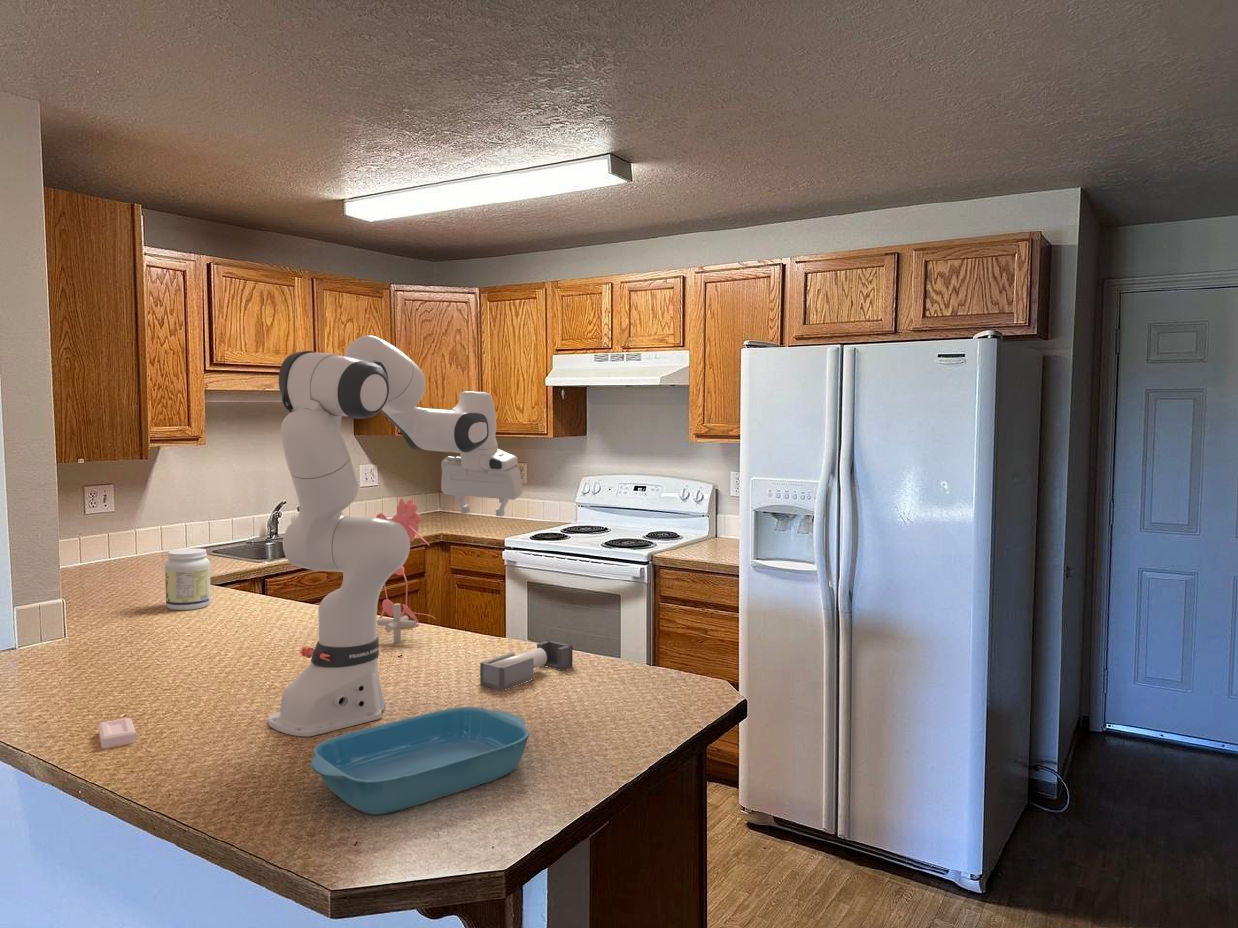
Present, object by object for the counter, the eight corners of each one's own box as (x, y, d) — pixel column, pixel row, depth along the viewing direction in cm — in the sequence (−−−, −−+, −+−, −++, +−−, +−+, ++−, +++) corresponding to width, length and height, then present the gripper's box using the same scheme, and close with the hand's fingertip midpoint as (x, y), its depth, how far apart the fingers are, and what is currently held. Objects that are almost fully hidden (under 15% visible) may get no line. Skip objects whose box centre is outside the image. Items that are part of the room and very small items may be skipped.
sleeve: (501, 691, 187) (501, 668, 187) (480, 685, 191) (480, 662, 191) (533, 679, 195) (533, 657, 195) (512, 674, 199) (512, 652, 199)
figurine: (412, 633, 234) (413, 503, 232) (360, 617, 251) (361, 496, 249) (458, 624, 245) (460, 500, 243) (406, 609, 262) (407, 493, 261)
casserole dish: (481, 732, 164) (481, 695, 164) (555, 769, 148) (555, 728, 147) (287, 789, 140) (286, 746, 139) (349, 841, 123) (348, 792, 123)
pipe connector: (406, 648, 219) (406, 609, 218) (370, 646, 221) (369, 607, 220) (423, 638, 229) (423, 600, 228) (388, 636, 231) (387, 598, 230)
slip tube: (500, 682, 189) (500, 664, 188) (487, 679, 191) (487, 661, 191) (546, 666, 201) (546, 649, 200) (534, 663, 203) (534, 646, 203)
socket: (561, 670, 202) (561, 649, 202) (537, 664, 207) (537, 643, 206) (572, 666, 205) (572, 645, 205) (548, 660, 210) (548, 640, 209)
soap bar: (101, 750, 155) (101, 737, 155) (98, 734, 162) (98, 721, 162) (136, 744, 158) (135, 731, 158) (131, 728, 165) (131, 716, 165)
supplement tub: (170, 603, 267) (168, 548, 266) (213, 600, 271) (212, 546, 269) (162, 612, 255) (160, 555, 254) (207, 609, 259) (206, 553, 258)
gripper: (434, 458, 207) (438, 514, 210) (511, 463, 201) (514, 521, 204) (447, 453, 213) (451, 507, 216) (523, 457, 206) (526, 513, 210)
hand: (482, 514), depth 210 cm, fingers open, 8 cm apart
